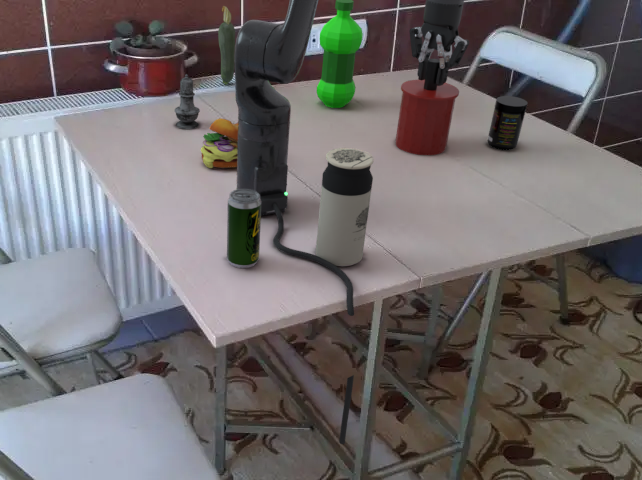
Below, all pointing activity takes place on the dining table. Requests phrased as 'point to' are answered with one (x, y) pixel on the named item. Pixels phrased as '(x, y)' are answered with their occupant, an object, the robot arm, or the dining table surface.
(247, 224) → the beer can
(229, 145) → the cheeseburger
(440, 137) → the canister
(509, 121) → the supplement container
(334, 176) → the travel mug
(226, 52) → the vegetable
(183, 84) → the salt shaker
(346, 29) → the plastic bottle
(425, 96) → the lid
